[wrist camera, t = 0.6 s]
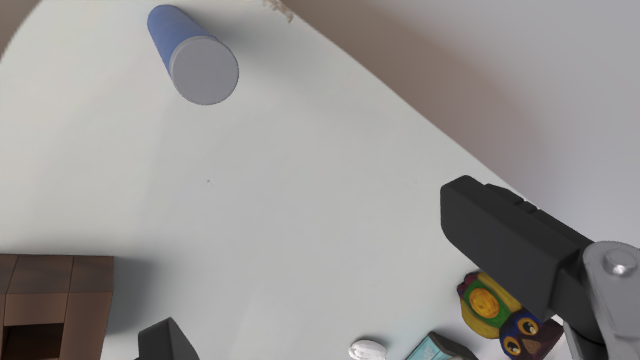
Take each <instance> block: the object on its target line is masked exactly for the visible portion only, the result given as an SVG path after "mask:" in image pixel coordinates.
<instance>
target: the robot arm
mask: <svg viewBox="0 0 640 360" xmlns="http://www.w3.org/2000/svg"><path fill="white" fill-rule="evenodd" d="M440 206H441V227H442V230H443V232H444V234H445V236H446V238H447V239H448V240H449V241H450V242H451V243H452V244H453V245H454V246H455V247H456V248H457V249H459V250H460V251H461V252H462V253H463V254H464V255H465V256H467V257H468V258H469V259H470V260H471V261H472V262H473V263H475V264H476V265H477V266H478V267H479V268H480V269H481V270H483V271H484V272H485V273H486V274H487V275H488V276H489V277H491V278H492V279H493V280H494V281H495V282H496V283H497V284H499V285H500V286H501V287H502V288H503V289H504V290H505V291H507V292H508V293H509V294H510V295H511V296H512V297H513V298H515V299H516V300H517V301H518V302H519V303H520V304H521V305H523V306H524V307H525V308H526V309H527V310H528V311H530V312H531V313H532V314H533V315H534V316H535V317H536V318H538V319H539V320H540V321H541V322H542V323H543V322H545V321H546V320H548V319H549V318H551V317H553V316H554V315H556V314H557V315H558V316H559V317H560V318H562V319H563V320H564V321H563V328H564V332H565V335H566V339H567V342H568V345H569V348H570V352H571V355H572V359H573V360H640V249H638V248H636V247H634V246H631V245H628V244H625V243H621V242H616V241H600V242H596V243H595V242H593V241H592V240H590V239H588V238H586V237H585V236H583V235H581V234H580V233H578V232H577V231H575V230H573V229H572V228H570V227H568V226H567V225H565V224H564V223H562V222H560V221H559V220H557V219H555V218H554V217H552V216H551V215H549V214H547V213H546V212H544V211H542V210H541V209H539V210H538V209H537V207H536V206H534V205H533V204H531V203H529V202H528V201H526V202H525V201H524V199H523V198H521V197H520V196H518V195H516V194H515V193H513V192H511V191H510V190H508V189H505V188H502V187H499V186H495V185H492V184H486V185H483V184H482V183H480V182H478V181H477V180H475V179H474V178H472V177H470V176H468V175H464V176H461V177H459V178H457V179H455V180H453V181H451V182H449V183H447V184H445V185H443V186H442V187H441V190H440ZM138 347H139V357H138V358H136V359H134V360H200V359H199V357H198V355H197V353H196V351H195V349H194V348H193V346H192V345H191V344H190V342H189V341H188V339H187V338H186V336H185V335H184V334H183V332H182V331H181V329H180V328H179V327H178V325H177V324H176V322H175V321H174V320H173V319H172V318H171V317H169V318H167V319H165V320H163V321H161V322H159V323H157V324H155V325H152V326H150V327H148V328H146V329H144V330H142V331H140V332H139V334H138Z"/></svg>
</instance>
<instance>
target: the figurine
mask: <svg viewBox="0 0 640 360" xmlns="http://www.w3.org/2000/svg"><path fill="white" fill-rule="evenodd" d="M457 292H458V294H459V297H460V303H461V310H462V317H463V319H464V321H465V323H466V324H467V325H468V326H469V327H470V328H471V329H472V330H473V331H475V332H476V333H477V334H479V335H481V336H483V337H484V338H487V339H499V340H500V343H501V347H502V349H503V351H504V353H505V354H506V355H507V356H509V357H510V358H511V359H512V360H543V359H544V358H545V356H546V355H547V354H548V353H549V352H550V350H551V349H552V348H553V347H554V345H555V344H556V343H557V341H558V340H559V339H560V337H561V336H562V334H563V333H564V328H563V326H562V325H560V324H559V323H558V322H556V321H554V320H553V319H551V318H549V319H548V320H546V321H545V322H543V323H542V322H541V321H540V320H539V319H538V318H536V317H535V316H534V315H533V314H532V313H531V312H530V311H528V310H527V309H526V308H525V307H524V306H523V305H521V304H520V303H519V302H518V301H517V300H516V299H515V298H513V297H512V296H511V295H510V294H509V293H508V292H507V291H505V290H504V289H503V288H502V287H501V286H500V285H499V284H497V283H496V282H495V281H494V280H493V279H492V278H491V277H489V276H488V275H487V274H486V273H485V272H481V273H476V274H470V275H467V276H466V277H465V279H464V283H463V284H460V285H459V286H458V288H457Z"/></svg>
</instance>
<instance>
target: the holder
mask: <svg viewBox="0 0 640 360" xmlns="http://www.w3.org/2000/svg"><path fill="white" fill-rule="evenodd" d="M112 295H113V256H63V255H16V254H0V360H100V357H101V352H102V347H103V342H104V337H105V332H106V326H107V321H108V316H109V311H110V306H111V301H112Z"/></svg>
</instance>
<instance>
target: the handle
mask: <svg viewBox="0 0 640 360" xmlns="http://www.w3.org/2000/svg"><path fill="white" fill-rule="evenodd" d="M147 25H148V30H149V32H150V34H151V36H152V39H153V41H154V43H155V45H156V47H157V49H158V52H159V54H160V56H161V58H162V60H163V62H164V64H165V67H166V69H167V71H168V73H169V75H170V77H171V80H172V82H173V84H174V86H175V88H176V89H177V91H178V92H179V93H180V94H181V95H182V96H183V97H184V98H185V99H187V100H189V101H190V102H193V103H196V104H199V105H213V104H217V103H219V102H221V101H223V100H225V99H226V98H227V97H229V96H230V95H231V93H232V92H233V91H234V89H235V87H236V85H237V82H238V78H239V68H238V63H237V60H236V58H235V56H234V55H233V53H232V52H231V50H230V49H229V48H228V47H227V46H225V45H224V44H223V43H222V42H220V41H219V40H218V39H216V38H215V37H214V36H213V35H211V34H210V33H209V32H207V31H206V30H205V29H204V28H202V27H201V26H200V25H199V24H197V23H196V22H195V21H193V20H192V19H191V18H190V17H188V16H187V15H186V14H184V13H183V12H182V11H181V10H179V9H178V8H176V7H174V6H171V5H160V6H157V7H155V8H154V9H153V10H152V11H151V12H150V14H149V16H148V21H147Z"/></svg>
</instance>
